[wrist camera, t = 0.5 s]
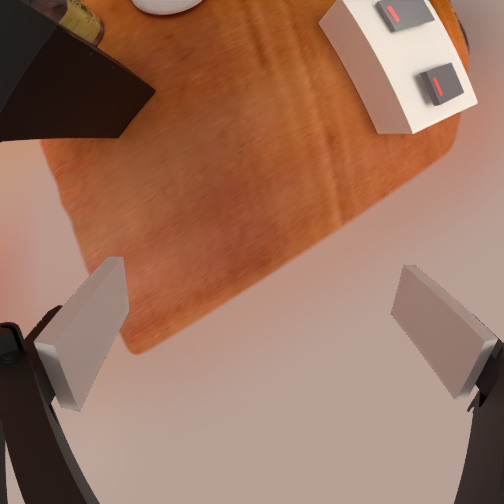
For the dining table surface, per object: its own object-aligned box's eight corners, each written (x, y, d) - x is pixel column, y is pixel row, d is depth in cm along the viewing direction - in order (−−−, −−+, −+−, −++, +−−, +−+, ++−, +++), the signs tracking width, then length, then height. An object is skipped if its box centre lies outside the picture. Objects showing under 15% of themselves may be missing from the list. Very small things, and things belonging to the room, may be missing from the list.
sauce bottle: (113, 20, 29) (42, -45, 11) (91, 60, 31) (3, 16, 12) (78, 13, 28) (0, -41, 9) (57, 51, 30) (-34, 15, 11)
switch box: (377, 134, 37) (415, 133, 28) (318, 23, 32) (340, -6, 23) (439, 105, 36) (480, 102, 27) (387, 4, 30) (419, -20, 22)
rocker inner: (393, 32, 24) (396, 30, 23) (375, 4, 23) (377, 0, 22) (431, 21, 23) (435, 19, 22) (414, -6, 21) (418, -9, 20)
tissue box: (118, 139, 35) (-53, 151, 9) (78, 106, 33) (-92, 89, 7) (157, 90, 34) (26, 7, 7) (115, 59, 32) (-28, -26, 5)
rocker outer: (433, 106, 26) (441, 104, 25) (419, 73, 25) (426, 71, 24) (458, 93, 27) (464, 92, 26) (445, 64, 25) (451, 62, 24)
